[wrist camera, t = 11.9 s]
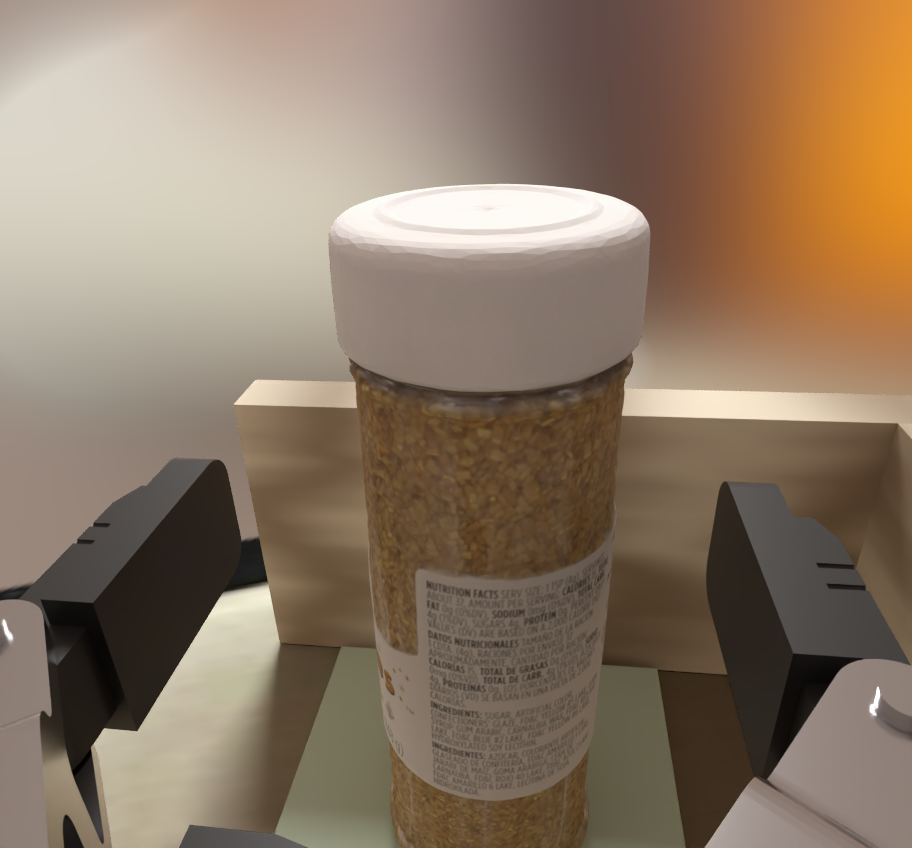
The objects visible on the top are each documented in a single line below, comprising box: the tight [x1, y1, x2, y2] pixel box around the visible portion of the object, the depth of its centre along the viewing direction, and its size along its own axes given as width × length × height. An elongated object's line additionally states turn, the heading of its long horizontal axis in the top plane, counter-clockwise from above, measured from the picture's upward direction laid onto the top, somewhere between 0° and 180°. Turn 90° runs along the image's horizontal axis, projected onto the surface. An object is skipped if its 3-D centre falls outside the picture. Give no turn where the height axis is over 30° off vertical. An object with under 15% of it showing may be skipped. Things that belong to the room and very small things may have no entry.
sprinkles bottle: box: [329, 184, 650, 848], centre depth 13 cm, size 5×5×13 cm
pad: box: [274, 646, 686, 848], centre depth 17 cm, size 9×9×1 cm
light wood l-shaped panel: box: [234, 380, 912, 675], centre depth 12 cm, size 17×18×8 cm
